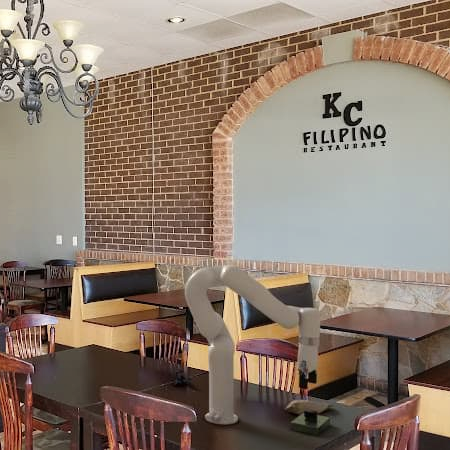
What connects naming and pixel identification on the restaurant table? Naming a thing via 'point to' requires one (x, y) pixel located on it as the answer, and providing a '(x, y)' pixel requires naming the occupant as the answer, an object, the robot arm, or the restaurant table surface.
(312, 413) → the dial
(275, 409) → the restaurant table surface
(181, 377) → the toy
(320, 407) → the stone
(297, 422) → the panel
